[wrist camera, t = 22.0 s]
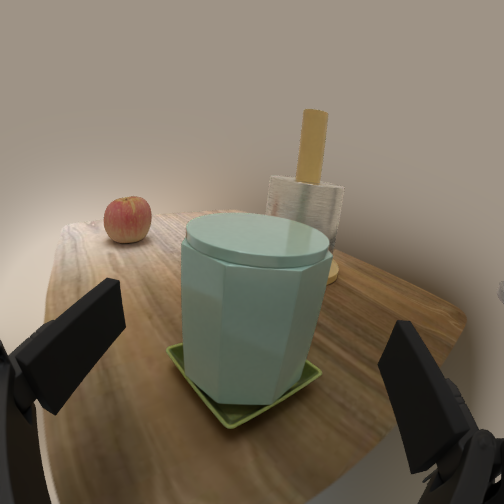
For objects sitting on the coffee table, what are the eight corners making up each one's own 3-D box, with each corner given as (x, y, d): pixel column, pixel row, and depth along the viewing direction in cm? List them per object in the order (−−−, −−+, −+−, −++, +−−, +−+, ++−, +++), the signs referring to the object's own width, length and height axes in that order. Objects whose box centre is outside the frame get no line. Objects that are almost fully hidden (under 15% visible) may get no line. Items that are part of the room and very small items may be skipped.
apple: (156, 245, 45) (157, 199, 42) (107, 251, 40) (104, 203, 37) (145, 231, 51) (145, 192, 49) (102, 236, 46) (101, 195, 44)
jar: (306, 403, 15) (352, 261, 12) (180, 400, 14) (170, 247, 11) (287, 332, 23) (309, 219, 19) (193, 327, 22) (196, 208, 18)
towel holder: (350, 289, 37) (381, 118, 28) (252, 284, 35) (275, 93, 27) (322, 254, 50) (342, 125, 42) (248, 248, 48) (263, 111, 40)
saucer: (165, 365, 20) (163, 346, 19) (249, 335, 25) (252, 317, 24) (226, 445, 14) (228, 430, 13) (318, 389, 19) (325, 372, 18)
